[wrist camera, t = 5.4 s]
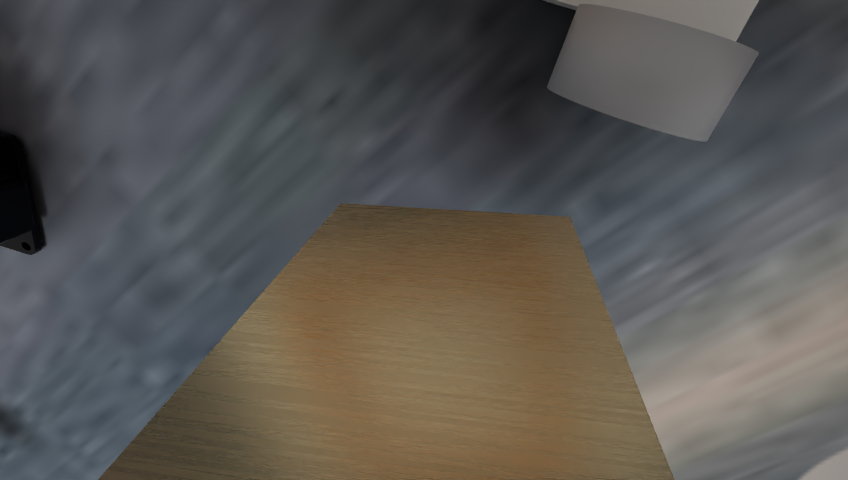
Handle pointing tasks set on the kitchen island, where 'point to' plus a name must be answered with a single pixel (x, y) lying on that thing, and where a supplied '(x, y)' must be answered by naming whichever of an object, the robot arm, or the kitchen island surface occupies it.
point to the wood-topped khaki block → (413, 364)
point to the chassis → (655, 61)
